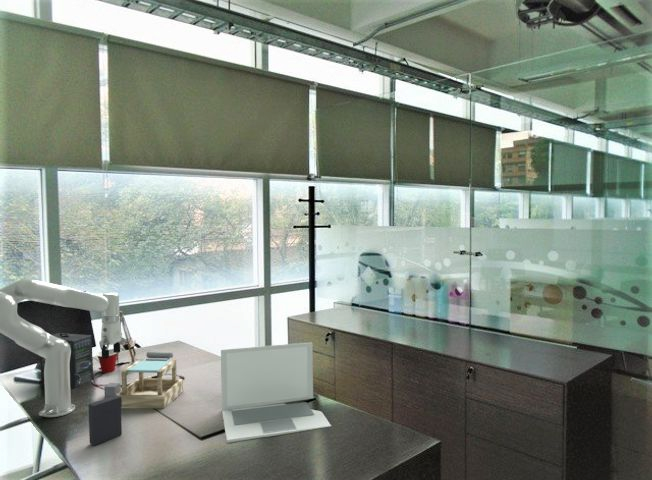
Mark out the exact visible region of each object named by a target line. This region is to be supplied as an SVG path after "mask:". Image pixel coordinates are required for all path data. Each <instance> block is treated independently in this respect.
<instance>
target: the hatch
mask: <svg viewBox="0 0 652 480" xmlns="http://www.w3.org/2000/svg"><path fill="white" fill-rule="evenodd" d="M145 355H146V359H145V360H144V359H143V360H142V361H140V362H139V363H137V364H136V365H134V366H133V367H131V368H130V369H128V370H127V372H131V373H139V372H141V373H143V374H146V373H149V374H153V373H155V374H157V372H158V371H159V370H160V369H161V368H163V367H164V366H165V365H167V364H168V363H169V362H171V361H172V360H170V359H172V358H173V357H174V351H147V352H146V354H145Z"/></svg>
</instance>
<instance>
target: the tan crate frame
mask: <svg viewBox="0 0 652 480" xmlns="http://www.w3.org/2000/svg"><path fill="white" fill-rule="evenodd" d="M142 360H144V359H142V358H140V359H138V360H136V361H135V362H133V363H132V364H130V365H129V366H128V367H126V368H124V369H123V370H121V373H120V374H121V391H120V392H119V393H117V394H116V395H117V396H120V397H121V398H122V407H121V409H165V408H166V407H167V406H168V405H169V404H170V403H171V402H173V401H172V400H173V399H174V398H175V397H176V396H177V395H178V394H179V393H180V392H181V391H182V390H183V391H184V379H183V378H178V377H177V359H172V360H170V361H171V362H169V363H168V364H167V365H165V366H164V367H163V368H161V369H160V370H159V371H158V372H157V373H156V376H157V377H156V378H155V377H154V378H152V377H151V378H145V376H144V374H145V373H141V372H138V378H136V379H135V380H134V381H133V382H131V383H130V384H127V379H128V377H127V376H129V375H130V374H131V373H132V372H127V370H128V369H130V368H131V367H133V366H134V365H136V364H137V363H139V362H140V361H142ZM170 370H171V378H163V376H165V375H166V374H168V372H169V371H170Z"/></svg>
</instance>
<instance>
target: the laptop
mask: <svg viewBox="0 0 652 480" xmlns="http://www.w3.org/2000/svg"><path fill="white" fill-rule="evenodd" d="M313 345H314V344H313V342H311V341H310V342H299V343H298V342H297V343H286V344H275V345H274V344H273V345H265V346H264V345H261V346H250V347H242V348H241V347H239V348H229V349H220V377H221V379H220V380H221V384H220V385H221V413H222V420H224V421H223V426H224V427H223V428H224V431H225V432H224V433H225V440H226V444H229V443H234V442H240V441H247V440H253V439H259V438H260V439H261V438H268V437H275V436H281V435H287V434H293V433H299V432H305V431H306V432H307V431H313V430H318V429H324V428H330V427H332V424H330V422H329V421H328V418H327V417H326V416H325V414H324V413H323V411H322V410H321V411H320V410H315V409H311V407H310V405H309V404H308V402H307V401H305V400H311V399H314V361H313V360H314V359H313V357H314V354H313V350H314V349H313V347H314V346H313ZM298 401H303V402H298ZM291 402H293V403H291ZM294 402H295V403H294Z"/></svg>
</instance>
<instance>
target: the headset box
mask: <svg viewBox="0 0 652 480" xmlns="http://www.w3.org/2000/svg"><path fill="white" fill-rule="evenodd" d="M52 335H53V336H55V337H57V338H60V339H63V340H65V341H66V342H68V344H69V345H70V348H71V356H70V389H77V388H79V387H81V386H83V385H86V384H87V383H90V382H92V381H93V380H94V363H93V362H94V361H93V342H92V338H93V337H92V336H93V335H91V334H78V333H77V334H76V333H65V332H64V333H63V332H57V333H53V334H52ZM39 357H40V358H39V359H40V372H41V373H40V375H41V376H40V377H41V384H43V385H45V383H44V367H45V361H46V360H45V358H44V357H41V356H39Z"/></svg>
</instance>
